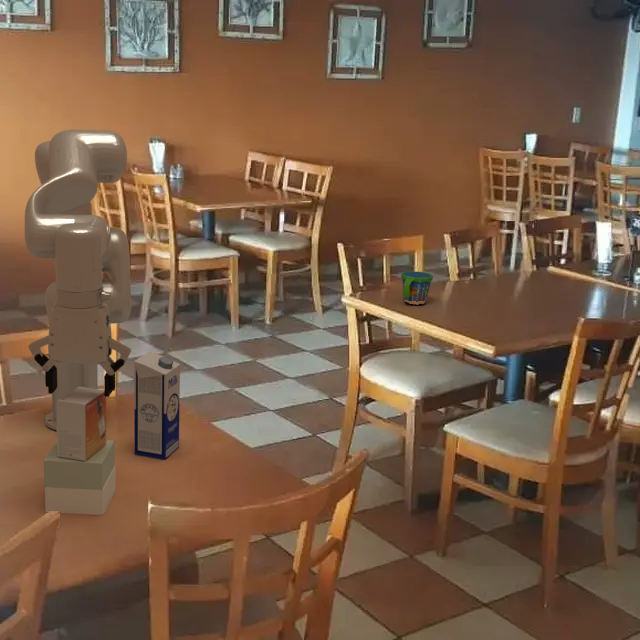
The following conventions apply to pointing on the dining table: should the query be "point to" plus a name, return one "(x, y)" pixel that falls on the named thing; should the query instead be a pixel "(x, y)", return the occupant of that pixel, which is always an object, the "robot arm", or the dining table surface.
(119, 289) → the robot arm
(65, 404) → the small box
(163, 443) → the milk carton
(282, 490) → the dining table surface
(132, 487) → the dining table surface
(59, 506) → the tower bottom
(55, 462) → the tower top
